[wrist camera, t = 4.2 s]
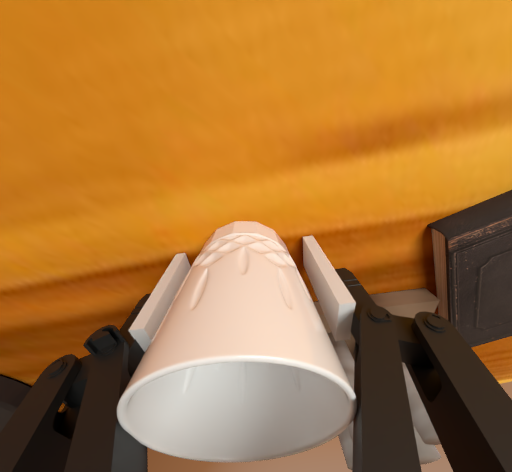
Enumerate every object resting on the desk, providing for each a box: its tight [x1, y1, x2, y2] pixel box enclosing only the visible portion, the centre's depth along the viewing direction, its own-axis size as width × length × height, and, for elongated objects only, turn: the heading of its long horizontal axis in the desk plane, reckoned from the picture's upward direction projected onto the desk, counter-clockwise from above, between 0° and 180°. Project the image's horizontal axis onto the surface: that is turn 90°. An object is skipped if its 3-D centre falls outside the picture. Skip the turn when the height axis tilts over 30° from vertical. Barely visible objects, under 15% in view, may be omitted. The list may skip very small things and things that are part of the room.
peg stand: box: [313, 288, 441, 470], centre depth 17 cm, size 14×12×8 cm
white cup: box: [117, 221, 358, 462], centre depth 11 cm, size 8×8×10 cm
